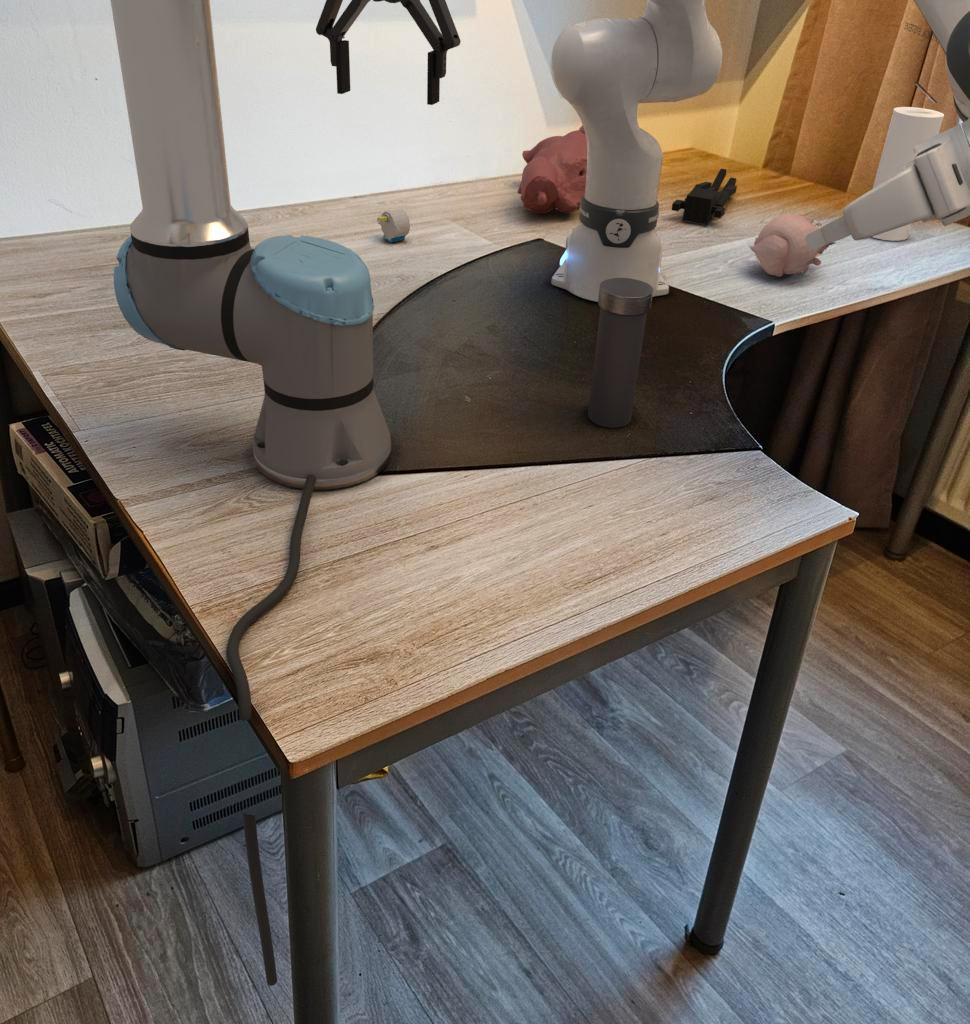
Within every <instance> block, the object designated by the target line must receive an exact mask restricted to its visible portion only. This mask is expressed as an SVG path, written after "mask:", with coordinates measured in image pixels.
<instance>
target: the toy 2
mask: <svg viewBox="0 0 970 1024" xmlns="http://www.w3.org/2000/svg"><path fill="white" fill-rule="evenodd" d="M823 226H824V225H822V223H820V221H818V220H817V219H812V220H811V221H810V220H809V219H807V218H805V217H804V216H801V215H799V214H792V213H786V214H780V215H779V216H776V217H774V218H773V219H771V220H770V221H768V222H767V223H766V224H765V225H764V226H763V227H762V229H761V231H760V232H759V234H758V235H757V237H755V239H754V242H753V243H754V244H753V245H749V249H750V250H751V251H752V252H753V253H754V254H755V257H756V258H757V260H758V262H759V263H760V266H761V269H763V270H764V272H765V273H767V274H768V275H771V276H775V277H782V276H784V274H786V275H790V274H792V275H793V274H794V275H798V276H799V274H800V273H802V275H803V274H806V273H808V271H809V270H810V269H809V267H810V266H811V265H814V266H817V267H818V266H820V265H821V264H822V260H820V258H818V257H819V256H821V255H822V254H823V253H824V251H826V250H827V249H828V248H829V247H830V246H832V245H835V244H836V242H832V243H829V244H826V245H824V246H822V247H820V248H818V249H815V250H811V249H809V247H808V244H807V242H806V239H805V238H806V235H807V234H809V233H811V232H813V231H815V230H817V229H819V228H821V227H823Z"/></svg>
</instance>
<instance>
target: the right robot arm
mask: <svg viewBox="0 0 970 1024" xmlns="http://www.w3.org/2000/svg"><path fill="white" fill-rule="evenodd" d="M913 1H914V3H915V4H916V7H917V8H918V10H919V11H920V13H921V15H922V16H923V18H924V20H925V22H926V23H927V25H928V27H929V28H930V31H931V32H933V33H934V35H935V36H934V38H935V37H936V38H935V39H937V42H939V43H938V44H939V45H940V47H941V49H942V51H943V52H944V54H945V56H944V59H945V61H944V62H945V63H944V65H945V72H946V77H947V80H948V83H949V87H950V89H951V92H952V98H953V104H954V108H955V112H956V114H957V116H958V117H959V119H960V121H961V123H958V124H957V125H955V126H952V127H950V128H948V129H946V130H944V131H941V132H939V134H938V135H936V136H934V137H932V138H930V139H928V140H926V141H924V142H922V143H920V144H918V145H916V146H914V152H915V157H914V160H913V161H911V162H909V163H906V164H904V165H902V166H901V169H902V171H901V172H900V173H898V174H897V175H895V176H893V177H892V178H890V179H888V180H887V181H885V182H883V183H882V184H880V185H878V186H877V187H875V188H873V187H872V189H870V190H869V191H866V192H865V193H864V194H862V195H860V196H859V197H857V198H856V199H854V200H852V201H851V202H850V203H848V204H847V205H845V206H844V207H843V208H842V210H841V211H842V214H843V215H842V216H840V217H838V218H836V219H834V220H832V221H830V222H828V223H826V224H825V225H822V226H823V227H821V228H819V229H817V230H815V231H813V232H811V233H809V234H807V235H806V238H805V239H806V242H807V244H808V247H809V249H811V250H815V249H818V248H820V247H822V246H824V245H826V244H829V243H832V242H834V243H836V242H837V241H841V240H843V239H845V238H848V237H850V236H851V238H852V239H853V240H854V241H861V240H865V239H869V238H873V237H872V236H876V235H879V234H882V233H885V232H888V231H891V230H894V229H896V228H899V227H902V226H905V225H908V224H911V223H912V224H914V223H917V222H920V221H921V222H922V223H926V222H929V221H930V220H932V219H935V218H936V219H937V220H939V221H940V222H941V223H942V225H943V226H944V227H947V226H949V225H952V224H953V223H956V222H958V221H960V220H963V219H965V218H967V217H969V216H970V0H913ZM721 42H722V41H721V39H720V37H719V35H718V32H717V31H716V30H715V28H714V27H713V26H712V23H710V21H709V18H708V16H707V11H706V0H646V6H645V9H644V12H643V14H642V15H641V16H640V17H624V18H623V17H618V18H617V17H610V18H609V17H603V18H602V17H601V18H599V17H598V18H594V19H590V20H584V21H581V22H578V23H573V24H571V25H567V26H566V27H564V28H563V29H562V31H561V32H560V33H559V35H558V36H557V38H556V39H555V42H554V44H553V46H552V50H551V54H550V62H549V63H550V65H549V67H550V74H551V79H552V81H553V84H554V86H555V88H556V90H557V91H558V93H559V94H560V95H561V97H562V98H563V99H564V100H566V102H568V103H569V104H570V106H572V108H573V109H574V110H575V112H576V114H577V116H578V118H579V120H580V122H581V125H583V127H584V131H585V135H586V140H587V172H586V185H585V194H584V195H583V196H582V199H581V204H580V207H579V208H578V210H579V215H578V221H579V223H578V225H577V226H576V227H575V228H573V230H572V231H571V232H570V233H568V234H567V235H566V239H565V248H566V249H565V251H564V253H563V254H562V256H561V258H560V260H559V267H558V269H556V271H555V272H554V274H553V275H552V276H551V279H550V284H551V285H552V286H555V287H557V288H561V289H562V290H563V289H564V290H566V291H567V292H569V293H570V294H573V296H576V297H578V298H581V299H584V300H588V301H590V302H591V301H592V302H596V303H598V297H599V289H600V284H601V282H603V281H604V280H607V279H612V278H630V279H636V280H640V281H643V282H645V283H648V284H649V285H651V286H652V287H653V290H654V291H653V298H654V297H660V296H665V295H668V294H669V293H670V286H669V284H668V283H667V281H666V280H665V278H664V276H662V274H661V269H662V268H661V267H662V259H663V252H664V241H663V240H662V238H661V236H660V235H658V233H657V231H656V229H655V228H656V227H657V224H658V219H659V215H660V212H659V211H660V210H659V208H660V203H659V201H658V196H659V190H660V189H659V188H660V183H661V176H662V168H663V160H664V155H663V154H664V153H663V150H662V149H663V148H662V147H661V145H660V143H659V141H658V140H657V139H656V138H655V137H654V136H653V135H652V134H651V133H649V132H647V131H646V130H644V129H643V128H641V127H640V126H639V121H638V106H639V104H654V103H655V104H657V103H659V104H660V103H677V102H681V101H685V100H688V99H691V98H695V97H697V96H701V95H704V94H706V93H708V92H709V91H710V90H711V89H712V87H713V86H714V85H715V83H716V82H717V79H718V77H719V76H720V72H721V69H722V65H723V47H722V43H721Z"/></svg>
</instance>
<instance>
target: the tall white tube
mask: <svg viewBox="0 0 970 1024" xmlns="http://www.w3.org/2000/svg"><path fill="white" fill-rule="evenodd" d="M904 30H905V31H907V32H910V33H912V32H913V34H915V33H916V34H917V35H918V36H921V37H923V38H924V37H925V39H928V40H930V41H931V40H932V41H933V42H938V40H937V38H936V37H935V35H934V33H933V32H932V30H926V29H923V34H921V31H922V27H920V26H918V25H915V24H912V23H909V22H908V21H907V22H905V26H904ZM927 33H928V35H927ZM938 44H939V42H938ZM913 84H914V85H915V86H916V87H917V88H919V90H920V91H921V92H922V95H923V96H924V97H926V98H928V99H929V100H930V101H931V102H932V103H934V104H937V103H938V101H937V100H936V99H935V98H934V97H932V95H931V94H930V93H929V92H928V91H927V90H926V89H925V88H924V87H923V86H922V85H921V84H920V83H919V82H918V81H915V80H914V82H913ZM944 117H945V114H944V113H943V112H940V111H937V110H936V109H935V110H934V109H929V108H924V107H915V106H914V107H913V106H897V107H894V108H893V110H892V114H891V118H890V122H889V126H888V129H887V133H886V137H885V140H884V145H883V148H882V151H881V155H880V159H879V163H878V166H877V170H876V174H875V177H874V182H873V185H872V189H873V188H875V187H877V186H878V185H880V184H882V183H883V182H885V181H887V180H888V179H890V178H892V177H893V176H895V175H897V174H898V173H900V172H901V171H902V169H901V166H902V165H904V164H906V163H909V162H911V161H913V160H914V157H915V152H914V146H916V145H918V144H920V143H922V142H924V141H926V140H928V139H930V138H932V137H934V136H936V135H938V134H940V130H941V127H942V124H943V121H944ZM912 226H913V223H911V224H908V225H905V226H902V227H899V228H896V229H894V230H891V231H888V232H885V233H882V234H879V235H876V236H872V237H871V238H873V239H878V240H884V241H893V242H895V241H897V242H898V241H899V242H900V241H905V240H907V239H909V236H910V233H911V229H912Z"/></svg>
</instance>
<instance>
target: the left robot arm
mask: <svg viewBox="0 0 970 1024" xmlns="http://www.w3.org/2000/svg"><path fill="white" fill-rule="evenodd" d="M343 1H344V0H325V3H324V5H323V8H322V11H321V13H320V16H319V19H318V22H317V24H316V27H315V33H316V34H317V35H318V36H323V37H324V38H326V39H327V40H328V42H329V54H330V56H329V57H330V65H331V67H335V70H336V71H335V72H336V94H339V95H343V94H346V93H349V92H351V67H350V66H351V63H350V41H349V40H345V38H346V36H345V35H347V33H348V31H349V30H350V29H351V27H352V26H353V24H354V23H355V21H356V20H357V19H358V18H359V16H360V14H361V13H362V12H363V10H364V9H365V8H366V6H367V5H368V4H369V3H370V2H371V1H372V2H377V3H380V2H384V1H385V2H387V3H389V4H398V3H400V4H401V5H402V7H403V8H405V9H406V10H407V12H408V13H409V15H410V17H411V18H412V20H413V21H414V22H415V24H416V26H417V27H418V29H419V31H420V32H421V33H422V35H423V36H424V38H425V39H426V40H427V43H428V44H429V46H430V47H431V48H432V50H431V51H428V52H427V74H426V75H427V79H426V80H427V85H426V87H427V88H426V105H429V106H433V105H435V104H438V103H440V93H441V92H440V91H441V90H440V89H441V87H440V86H441V83H440V81H441V79H443V78H445V77H446V74H447V54H448V51H449V50H451V49H454V48H457V47H459V46H460V45H461V42H462V41H461V38H460V35H459V33H458V30H457V27H456V24H455V22H454V19H453V17H452V14H451V11H450V9H449V7H448V4H447V1H446V0H428V2H429V5H430V8H431V10H432V13H433V15H434V18H435V21H436V23H437V25H438V26H437V25H436V23H435V22H434V20H433V19H432V17H431V15H429V13H428V11H427V9H426V8H425V6H424V5H423V3H422V2H421V0H351V1H350V2H349V3H348V5H347V6H346V8H345V9H344V11H343V12H342V14H341V15H340V16H339V18H338V19H337V17H338V14H339V12H340V9H341V6H342V4H343ZM110 6H111V12H112V19H113V20H112V21H113V27H114V31H115V39H116V45H117V52H118V59H119V64H120V70H121V77H122V84H123V90H124V96H125V97H124V98H125V103H126V110H127V116H128V122H129V123H128V124H129V129H130V136H131V142H132V149H133V156H134V161H135V169H136V175H137V180H138V187H139V194H140V199H141V206H142V210H141V211H140V212H139V214H138V215H137V216H136V217H135V218H134V220H133V221H132V222H131V224H130V225H129V232H130V236H128V237H127V238H126V239H125V240H124V241H123V243H122V244H121V246H120V247H119V249H118V252H117V256H116V260H117V261H118V265H117V266H114V268H113V288H114V294H115V298H116V302H117V305H118V307H119V310H120V312H121V315H122V316H123V318H124V319H125V321H126V323H127V324H128V325H129V327H130V328H131V329H133V331H134V332H136V333H137V334H138V335H139V336H141V337H143V338H144V339H145V340H148V341H150V342H154V343H157V344H161V345H164V346H167V347H169V348H171V349H174V350H178V351H191V352H197V353H202V354H207V355H211V356H216V357H222V358H226V359H231V360H236V361H242V362H248V363H251V364H252V363H253V364H257V365H259V366H261V370H262V379H263V388H264V390H263V391H264V396H263V400H262V404H261V408H260V412H259V415H258V419H257V423H256V427H255V430H254V434H253V439H252V441H253V442H252V455H253V460H254V464H255V467H256V468H257V470H258V471H259V472H260V473H261V474H262V475H263V476H265V477H266V478H268V479H269V480H271V481H273V482H275V483H278V484H280V485H283V486H286V487H290V488H295V489H301V490H302V494H301V497H300V501H299V505H298V509H297V513H296V516H295V519H294V524H293V527H292V531H291V536H290V545H289V560H288V566H287V569H286V572H285V574H284V576H283V578H282V580H281V581H280V583H279V584H278V585H277V586H276V588H274V589H273V591H272V592H271V593H269V594H268V595H267V596H265V597H264V598H263V599H262V600H260V601H259V602H258V603H257V604H255V605H254V606H252V607H251V608H250V609H248V610H247V611H246V612H245V613H244V614H243V615H242V616H241V617H240V618H239V619H238V621H237V622H236V623H235V625H234V626H233V627H232V630H231V632H230V634H229V637H228V640H227V645H226V650H225V651H226V659H227V663H228V666H229V669H230V671H231V674H232V676H233V680H234V685H235V689H236V695H237V706H238V718H239V720H240V721H242V722H245V721H248V720H250V719H251V718H252V714H253V713H252V712H253V709H252V698H251V697H252V696H251V695H252V694H251V689H250V683H249V679H248V676H247V673H246V670H245V667H244V665H243V662H242V660H241V656H240V642H241V640H242V638H243V635H244V634H245V632H247V630H248V628H249V627H250V626H251V625H252V624H253V623H254V622H255V621H257V620H258V618H259V617H261V616H262V615H264V614H265V613H266V612H267V611H269V609H271V608H272V607H274V606H275V605H276V604H277V603H278V602H280V600H281V599H283V598H284V596H286V595H287V593H288V592H289V591H290V589H291V587H292V586H293V585H294V582H295V580H296V578H297V575H298V573H299V568H300V564H301V549H302V547H301V545H302V536H303V531H304V527H305V522H306V518H307V515H308V511H309V507H310V504H311V499H312V495H313V492H314V490H315V491H323V490H327V491H328V490H337V489H342V488H348V487H351V486H355V485H358V484H361V483H363V482H366V481H368V480H370V479H373V478H374V477H375V476H377V475H378V474H380V473H381V472H382V471H383V470H384V469H385V468H386V467H387V466H388V464H389V463H390V461H391V458H392V438H391V432H390V430H389V427H388V424H387V422H386V419H385V417H384V413H383V411H382V408H381V406H380V403H379V400H378V398H377V395H376V393H375V385H374V320H373V319H374V318H373V317H374V315H373V314H374V308H375V301H374V297H373V292H372V283H371V275H370V270H369V267H368V266H367V264H366V263H365V262H364V260H363V259H362V258H361V257H360V256H359V254H357V253H356V252H355V251H353V250H352V249H351V248H348V247H346V246H345V245H343V244H340V243H338V242H335V241H331V240H329V239H324V238H322V237H317V236H310V235H300V236H299V237H296V236H293V235H288V234H287V235H279V236H273V237H269V238H265V239H264V240H262V241H260V242H259V243H258V244H257V245H255V247H254V248H253V247H251V242H250V241H251V240H250V233H249V223H248V220H247V219H246V218H245V216H243V215H242V214H240V213H239V212H238V211H237V210H236V209H234V207H233V206H232V203H231V194H230V185H229V183H230V182H229V175H228V174H229V173H228V165H227V156H226V155H227V154H226V146H225V137H224V129H223V128H224V127H223V118H222V117H223V115H222V106H221V97H220V88H219V78H218V67H217V59H216V57H217V56H216V49H215V40H214V30H213V29H214V28H213V21H212V20H213V19H212V11H211V2H210V0H110ZM336 19H337V21H336ZM256 819H257V817H256V814H248V813H247V814H246V813H242V822H243V830H244V840H245V848H246V857H247V865H248V873H249V877H250V878H249V879H250V885H251V892H252V897H253V903H254V910H255V916H256V921H257V927H258V932H259V939H260V945H261V952H262V959H263V966H264V972H265V980H266V984H267V986H270V987H273V986H275V985H276V984H277V982H278V974H277V966H276V960H275V952H274V945H273V938H272V932H271V925H270V918H269V913H268V907H267V900H266V893H265V887H264V879H263V873H262V865H261V859H260V857H261V855H260V849H259V848H260V847H259V839H258V828H257V820H256Z"/></svg>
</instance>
